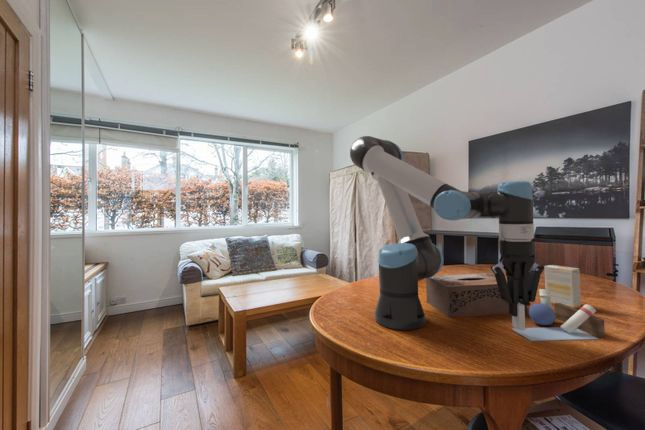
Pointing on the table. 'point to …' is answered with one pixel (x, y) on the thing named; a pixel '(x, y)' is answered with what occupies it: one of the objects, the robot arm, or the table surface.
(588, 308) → the pin
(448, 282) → the tissue box cover
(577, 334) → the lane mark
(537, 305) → the ball
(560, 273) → the supplement box
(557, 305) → the rail
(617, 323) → the table surface
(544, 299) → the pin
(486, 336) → the table surface
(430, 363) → the table surface
